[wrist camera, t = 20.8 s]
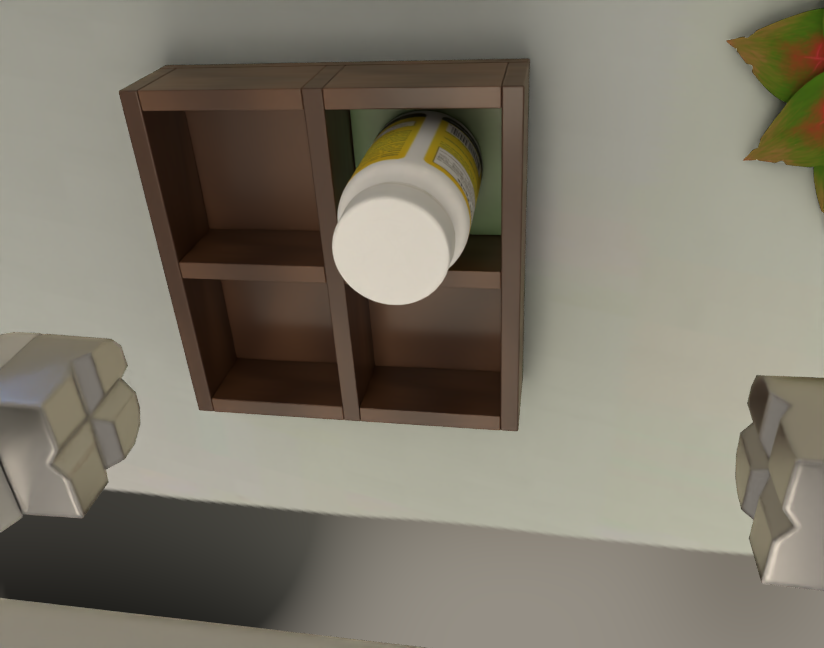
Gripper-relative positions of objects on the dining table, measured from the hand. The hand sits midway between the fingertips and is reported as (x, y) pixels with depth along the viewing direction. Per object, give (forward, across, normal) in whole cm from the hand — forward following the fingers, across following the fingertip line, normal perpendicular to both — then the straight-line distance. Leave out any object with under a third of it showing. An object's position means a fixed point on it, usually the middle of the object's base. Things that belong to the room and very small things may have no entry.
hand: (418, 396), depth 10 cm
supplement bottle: (+23, +3, +5) cm, 24 cm away
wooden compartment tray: (+24, +7, +9) cm, 26 cm away
